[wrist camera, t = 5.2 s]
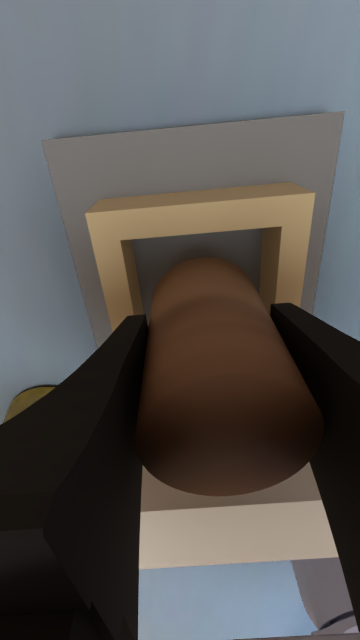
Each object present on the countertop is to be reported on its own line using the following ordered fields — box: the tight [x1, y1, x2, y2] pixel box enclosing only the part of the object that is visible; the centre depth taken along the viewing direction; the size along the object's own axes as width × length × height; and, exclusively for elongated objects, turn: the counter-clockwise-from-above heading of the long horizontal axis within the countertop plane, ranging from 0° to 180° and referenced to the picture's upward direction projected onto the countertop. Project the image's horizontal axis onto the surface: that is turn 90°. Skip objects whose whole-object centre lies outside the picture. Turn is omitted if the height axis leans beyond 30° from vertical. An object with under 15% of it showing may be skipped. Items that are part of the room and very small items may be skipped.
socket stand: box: [41, 111, 345, 569], centre depth 13 cm, size 16×11×9 cm
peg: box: [135, 257, 324, 496], centre depth 9 cm, size 4×4×6 cm
